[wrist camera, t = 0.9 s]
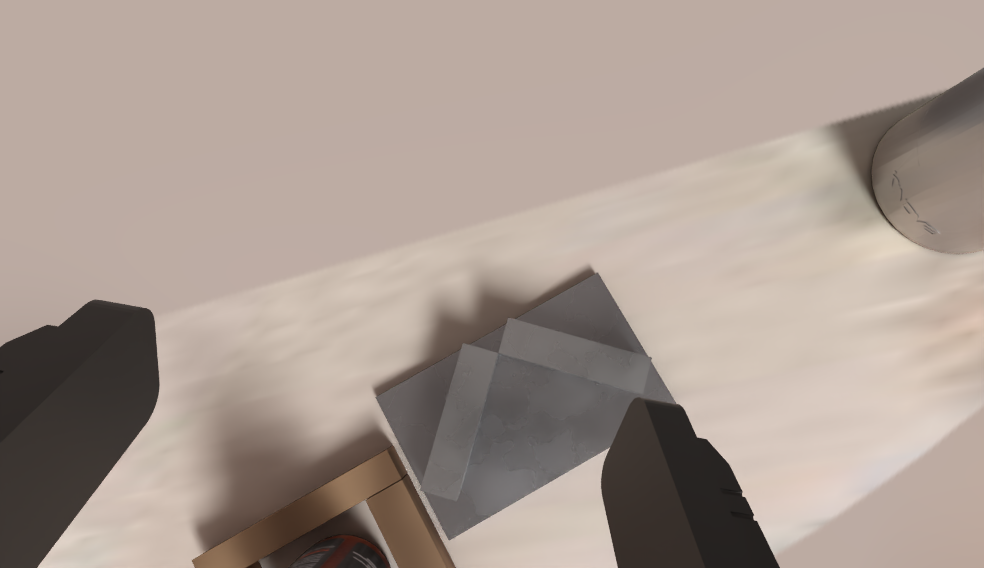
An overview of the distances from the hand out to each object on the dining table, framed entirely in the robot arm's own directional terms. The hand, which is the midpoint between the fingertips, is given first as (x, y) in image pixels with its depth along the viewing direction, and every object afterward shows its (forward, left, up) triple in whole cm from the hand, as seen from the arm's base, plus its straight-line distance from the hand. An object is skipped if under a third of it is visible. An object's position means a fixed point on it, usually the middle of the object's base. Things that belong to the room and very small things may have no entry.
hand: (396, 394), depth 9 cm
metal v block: (-2, +3, -24) cm, 24 cm away
